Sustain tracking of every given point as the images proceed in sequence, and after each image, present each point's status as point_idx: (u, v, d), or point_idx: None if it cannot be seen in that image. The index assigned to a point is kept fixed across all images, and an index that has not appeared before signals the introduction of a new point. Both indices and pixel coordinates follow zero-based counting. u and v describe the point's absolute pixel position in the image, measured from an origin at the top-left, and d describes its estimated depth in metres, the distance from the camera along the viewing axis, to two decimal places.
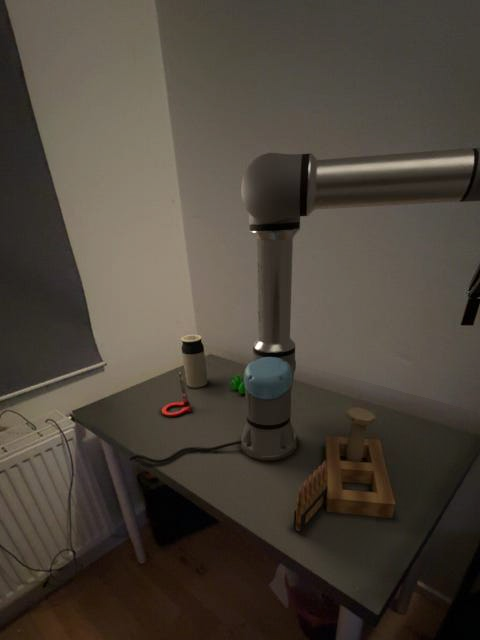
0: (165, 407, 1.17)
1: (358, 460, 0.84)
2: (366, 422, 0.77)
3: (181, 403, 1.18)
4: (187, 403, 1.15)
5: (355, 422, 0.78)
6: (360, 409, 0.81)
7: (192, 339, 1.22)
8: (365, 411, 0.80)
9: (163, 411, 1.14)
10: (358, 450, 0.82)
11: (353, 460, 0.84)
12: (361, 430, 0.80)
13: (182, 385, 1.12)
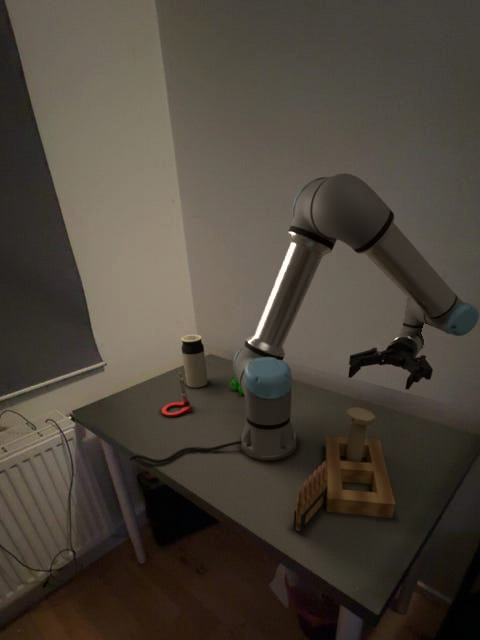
0: (165, 407, 1.17)
1: (358, 460, 0.84)
2: (366, 422, 0.77)
3: (181, 403, 1.18)
4: (187, 403, 1.15)
5: (355, 422, 0.78)
6: (360, 409, 0.81)
7: (192, 339, 1.22)
8: (365, 411, 0.80)
9: (163, 411, 1.14)
10: (358, 450, 0.82)
11: (353, 460, 0.84)
12: (361, 430, 0.80)
13: (182, 385, 1.12)
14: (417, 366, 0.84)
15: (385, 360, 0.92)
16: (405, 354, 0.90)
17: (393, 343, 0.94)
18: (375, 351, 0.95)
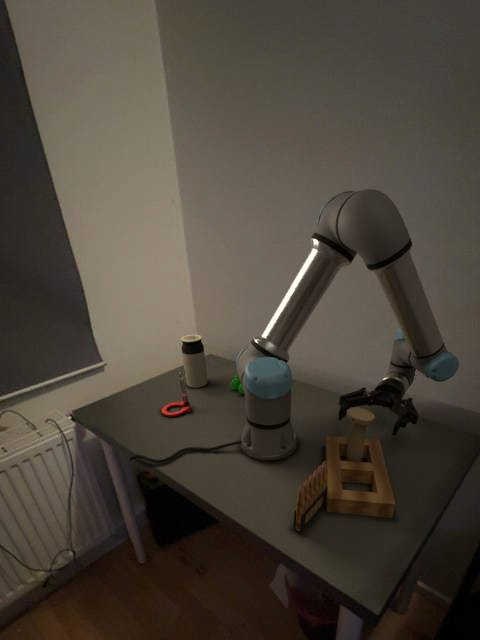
0: (165, 407, 1.17)
1: (358, 460, 0.84)
2: (366, 422, 0.77)
3: (181, 403, 1.18)
4: (187, 403, 1.15)
5: (355, 422, 0.78)
6: (360, 409, 0.81)
7: (192, 339, 1.22)
8: (365, 411, 0.80)
9: (163, 411, 1.14)
10: (358, 450, 0.82)
11: (353, 460, 0.84)
12: (361, 430, 0.80)
13: (182, 385, 1.12)
14: (404, 411, 0.88)
15: (374, 401, 0.96)
16: (393, 396, 0.93)
17: (381, 384, 0.98)
18: (364, 391, 0.98)
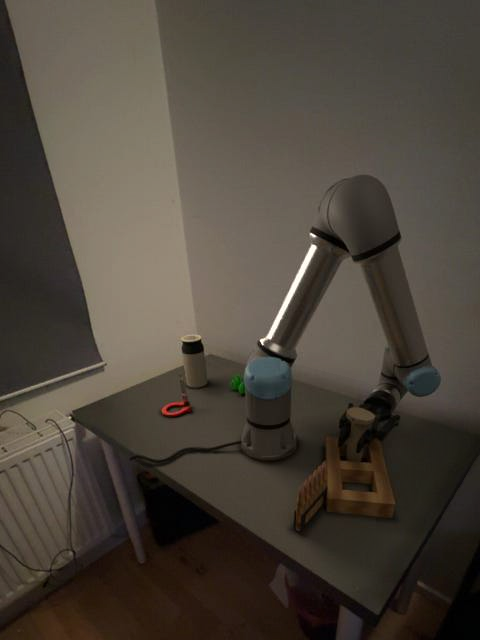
0: (165, 407, 1.17)
1: (358, 460, 0.84)
2: (365, 422, 0.77)
3: (181, 403, 1.18)
4: (187, 403, 1.15)
5: (355, 422, 0.78)
6: (360, 409, 0.81)
7: (192, 339, 1.22)
8: (365, 411, 0.80)
9: (163, 411, 1.14)
10: None
11: (353, 460, 0.84)
12: (361, 430, 0.80)
13: (182, 385, 1.12)
14: (373, 426, 0.82)
15: None
16: (378, 411, 0.87)
17: (370, 397, 0.91)
18: None
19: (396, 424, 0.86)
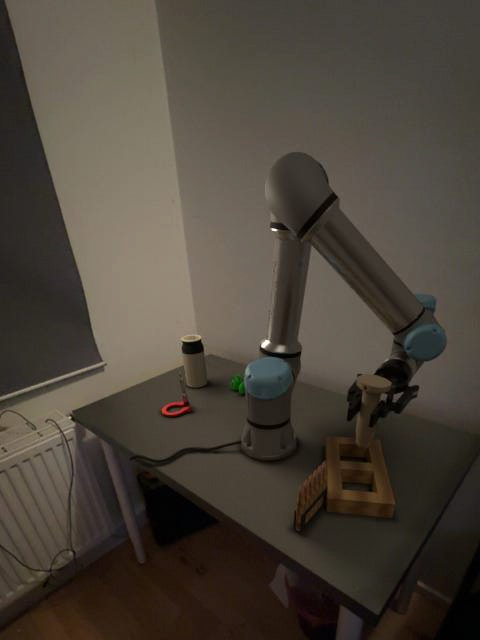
0: (165, 407, 1.17)
1: (370, 438, 0.71)
2: (381, 389, 0.64)
3: (181, 403, 1.18)
4: (187, 403, 1.15)
5: (368, 390, 0.65)
6: (373, 376, 0.68)
7: (192, 339, 1.22)
8: (379, 378, 0.67)
9: (163, 411, 1.14)
10: None
11: (364, 438, 0.71)
12: (374, 400, 0.67)
13: (182, 385, 1.12)
14: (389, 397, 0.69)
15: None
16: (393, 381, 0.74)
17: (383, 366, 0.78)
18: None
19: (414, 396, 0.73)
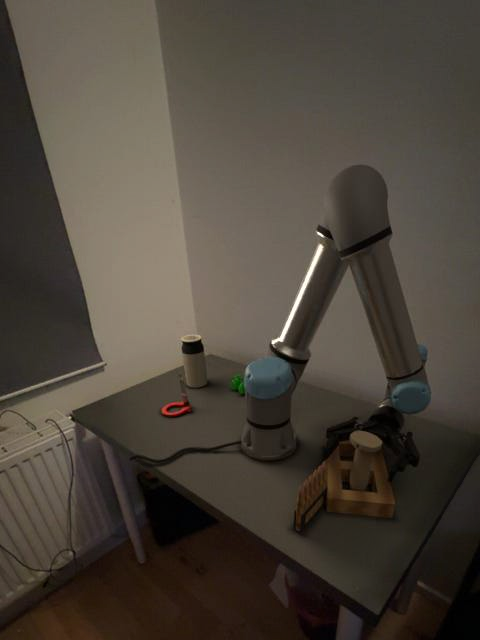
0: (165, 407, 1.17)
1: (363, 489, 0.76)
2: (372, 449, 0.68)
3: (181, 403, 1.18)
4: (187, 403, 1.15)
5: (360, 448, 0.70)
6: (365, 433, 0.73)
7: (192, 339, 1.22)
8: (371, 435, 0.72)
9: (163, 411, 1.14)
10: (363, 478, 0.74)
11: (357, 489, 0.76)
12: (366, 456, 0.71)
13: (182, 385, 1.12)
14: (402, 450, 0.73)
15: None
16: (389, 430, 0.78)
17: (376, 414, 0.83)
18: (356, 422, 0.83)
19: None
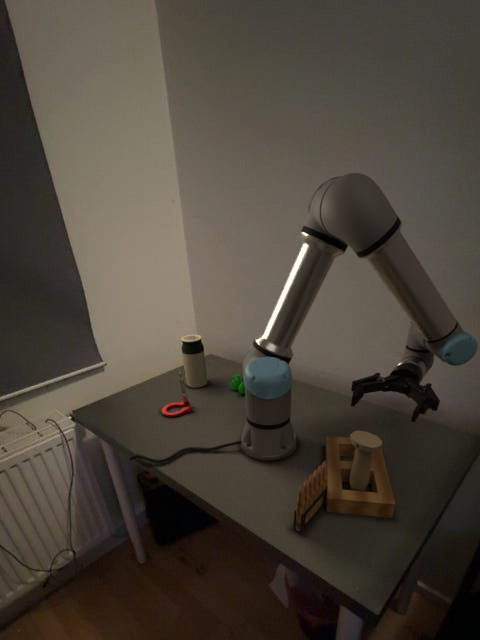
0: (165, 407, 1.17)
1: (363, 489, 0.76)
2: (372, 449, 0.68)
3: (181, 403, 1.18)
4: (187, 403, 1.15)
5: (360, 448, 0.70)
6: (365, 433, 0.73)
7: (192, 339, 1.22)
8: (371, 435, 0.72)
9: (163, 411, 1.14)
10: (363, 478, 0.74)
11: (357, 489, 0.76)
12: (366, 456, 0.71)
13: (182, 385, 1.12)
14: (423, 396, 0.80)
15: (389, 387, 0.88)
16: (410, 382, 0.86)
17: (397, 369, 0.90)
18: (378, 377, 0.91)
19: None
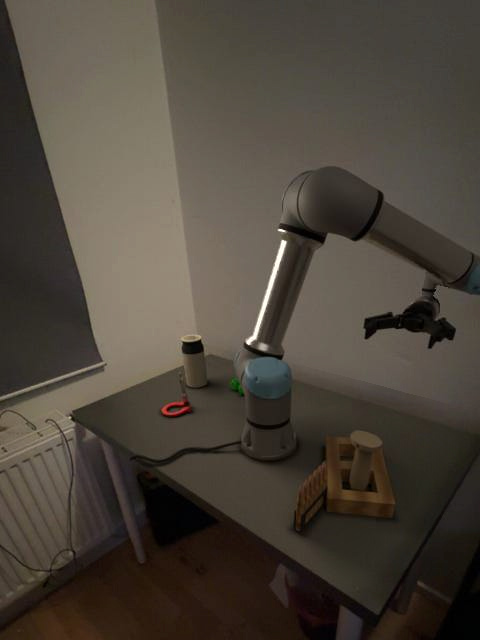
0: (165, 407, 1.17)
1: (363, 489, 0.76)
2: (372, 449, 0.68)
3: (181, 403, 1.18)
4: (187, 403, 1.15)
5: (360, 448, 0.70)
6: (365, 433, 0.73)
7: (192, 339, 1.22)
8: (371, 435, 0.72)
9: (163, 411, 1.14)
10: (363, 478, 0.74)
11: (357, 489, 0.76)
12: (366, 456, 0.71)
13: (182, 385, 1.12)
14: (439, 326, 0.79)
15: (402, 323, 0.86)
16: (424, 316, 0.84)
17: (410, 306, 0.88)
18: (391, 315, 0.89)
19: None
